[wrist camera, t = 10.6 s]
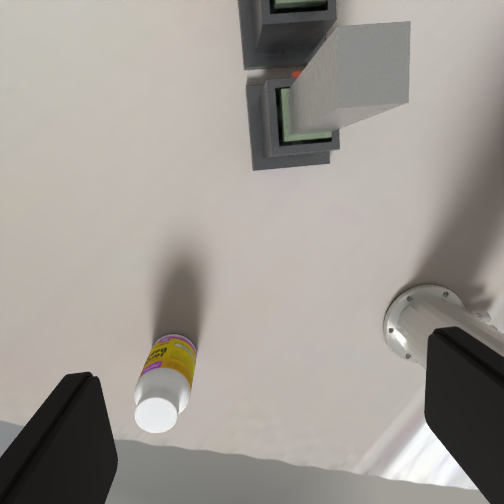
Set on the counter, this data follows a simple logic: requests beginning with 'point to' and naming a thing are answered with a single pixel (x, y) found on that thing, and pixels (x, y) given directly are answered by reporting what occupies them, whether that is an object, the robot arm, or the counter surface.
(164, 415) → the supplement bottle
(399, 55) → the column
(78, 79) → the counter surface
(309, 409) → the counter surface
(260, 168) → the stand sleeve
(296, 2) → the twin stand
